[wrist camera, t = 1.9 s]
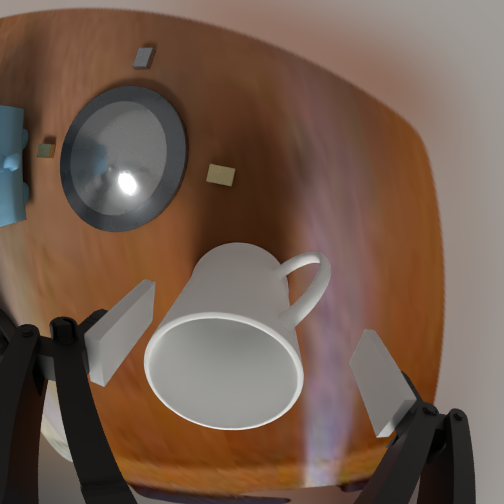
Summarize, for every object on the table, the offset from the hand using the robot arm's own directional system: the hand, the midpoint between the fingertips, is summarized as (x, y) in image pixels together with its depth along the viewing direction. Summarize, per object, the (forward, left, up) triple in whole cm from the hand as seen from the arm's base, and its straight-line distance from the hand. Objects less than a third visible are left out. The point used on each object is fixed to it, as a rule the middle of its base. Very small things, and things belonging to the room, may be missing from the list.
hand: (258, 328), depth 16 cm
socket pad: (-14, +10, -8) cm, 19 cm away
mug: (0, 0, -8) cm, 8 cm away
